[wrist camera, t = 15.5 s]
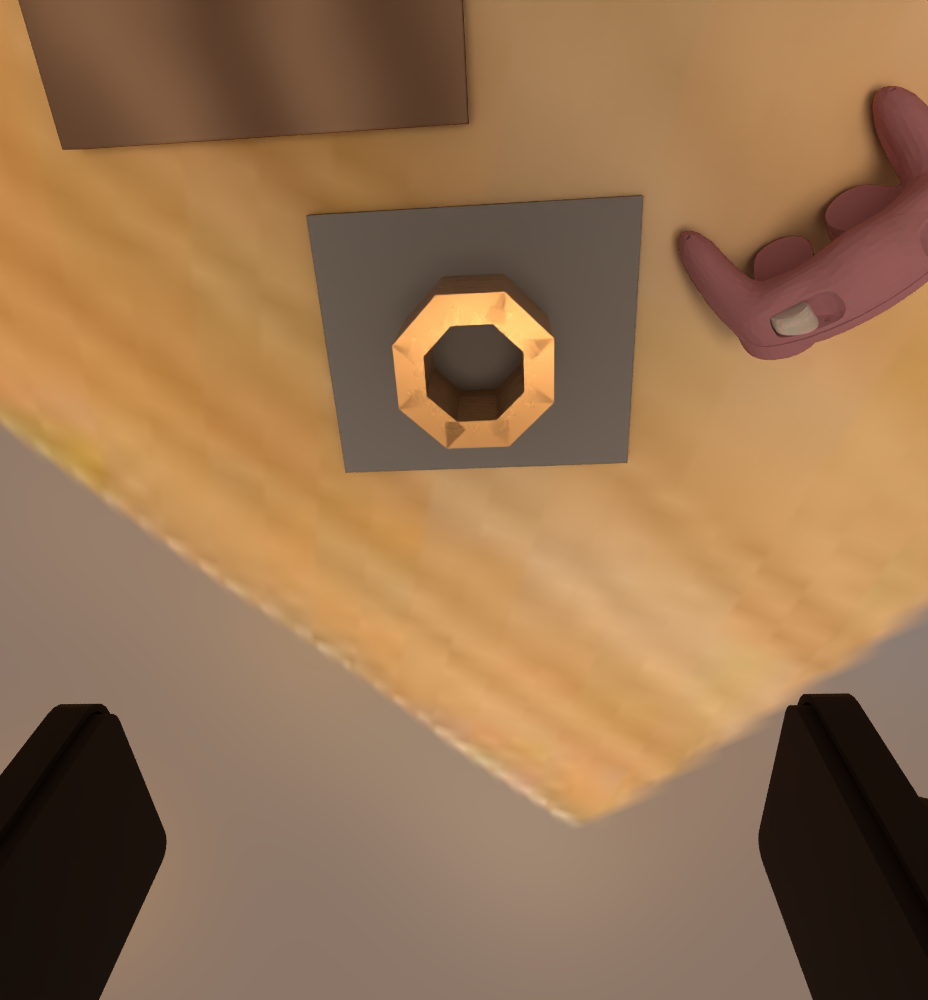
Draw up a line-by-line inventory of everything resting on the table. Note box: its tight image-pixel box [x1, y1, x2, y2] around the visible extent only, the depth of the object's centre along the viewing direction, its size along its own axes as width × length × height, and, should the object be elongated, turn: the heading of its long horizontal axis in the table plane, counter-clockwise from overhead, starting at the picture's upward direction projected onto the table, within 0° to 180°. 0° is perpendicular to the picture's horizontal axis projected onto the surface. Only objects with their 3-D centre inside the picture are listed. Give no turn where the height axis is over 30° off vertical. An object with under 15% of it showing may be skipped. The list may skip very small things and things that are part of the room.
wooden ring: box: [392, 273, 554, 449], centre depth 29 cm, size 6×6×4 cm
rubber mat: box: [306, 195, 643, 473], centre depth 31 cm, size 14×12×1 cm
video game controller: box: [679, 86, 928, 360], centre depth 26 cm, size 10×5×7 cm, turn 128°
